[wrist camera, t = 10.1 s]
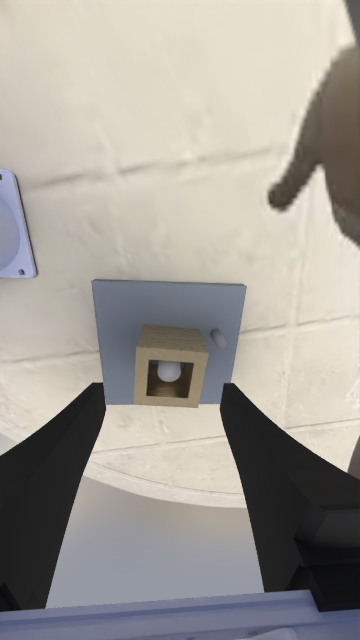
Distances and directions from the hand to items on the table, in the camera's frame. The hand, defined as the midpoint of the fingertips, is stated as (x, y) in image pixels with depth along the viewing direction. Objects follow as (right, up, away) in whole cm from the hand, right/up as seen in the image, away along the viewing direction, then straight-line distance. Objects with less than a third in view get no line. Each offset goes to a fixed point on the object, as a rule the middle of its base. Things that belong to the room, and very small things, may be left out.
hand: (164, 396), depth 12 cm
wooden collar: (0, +1, +8) cm, 9 cm away
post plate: (0, +2, +9) cm, 9 cm away
